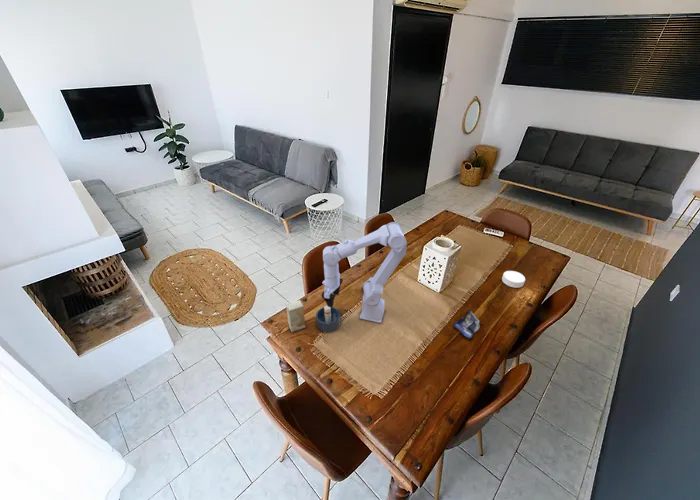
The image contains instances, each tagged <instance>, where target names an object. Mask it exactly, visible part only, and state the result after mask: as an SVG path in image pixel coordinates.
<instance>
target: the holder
mask: <svg viewBox="0 0 700 500" xmlns="http://www.w3.org/2000/svg"><path fill="white" fill-rule="evenodd" d="M324 307H325V306H323V307H321V308H319V309H318V310H316V313H315V323H316V327H317V328H318V330H320V331H322V332H323V333H332V332H335V331H337V330H338V329H339V328H340V325H341V313H340V311H339V309H338V308H337V307H334V306H333V307H330V308H331V322H330V323H325V313H324Z"/></svg>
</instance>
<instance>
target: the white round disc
mask: <svg viewBox="0 0 700 500" xmlns="http://www.w3.org/2000/svg"><path fill="white" fill-rule="evenodd" d="M501 281H502V283H503V284H504V285H505V286H507V287H510V288H512V289H513V288H514V289H519V288H522V287H523V286H524V285H525V282H526V277H525V276H524V275H523V274H522V273H521V272H518V271H515V270H506V271H504V272H503V273H502V277H501Z"/></svg>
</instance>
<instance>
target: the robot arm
mask: <svg viewBox="0 0 700 500" xmlns="http://www.w3.org/2000/svg"><path fill="white" fill-rule="evenodd" d="M375 244H380V245H382V246H384V247H387V246H389V247H390V251H389V252H388V254H387V255H386V257H385V258H384V260H383V261H382V263H381V265H380V266H379V268H378V269H377V271H376V272H375V274H373V275H374V276H373V277H372V276H371V277H369V278H368V279H367V280H366V281H365V282H363V284H362V289H363V296H362V306H361V307H362V309H361V313H360V314H359V319H360V320H366V321H369V322H375V323H379V324H381V323H382V321H383V317H384V315H385V304H386V300H385V299H383V298H381V297H382V295H383V291H384V286H385V285H386V283H387V281H388V280H389V278H390V277H391V276H392V275H393V273H394V271H395V270H396V269H397V267H398V266H399V264H400V262H401V261H402V260H403V258H404V257H405V256H406V254H407V245H408V241H407V239H406V236H405V235H404V232H403V230H402V227H401V225H400V224H399V223H397V222H395V221H391V222H389V223H387V224H383V225H382V226H380V227H379V228H378V229H377V230H375V231H372V232H370V233H368V234H366V235H364V236H362V237H360V238H358V239H356V240H353V239H348V240H347V239H344V240H343V242H340V243H338V244H333V245H327V246H325V247H324V248H323V250H322V261H323V274H324V280H323V281H322V285H324V291H322V292H321V298H322V299H323V300H324V301H325V304H326V306H328V307H334V303H335V298H336V297H337V296H339V295H340V291H341V290H340V289H341V286H342V284H343V282H344V279H343V278H341V273H340V269H339V267H340V265H339V262H341V260H343V259H346V258H348V257H350V256H353V255H355V254H357V252H358V250H360V249H363V248H367V247H369V246H373V245H375Z"/></svg>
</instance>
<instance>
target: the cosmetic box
mask: <svg viewBox="0 0 700 500" xmlns="http://www.w3.org/2000/svg"><path fill="white" fill-rule="evenodd" d="M285 309H286V316H287V323H288V327H289V330H290V331H291V333H294V332H296V331H299V330H302V329H305V328H306V321H305V319H306V318H305V310H304V309H305V308H304V304H303V302H302V300H301V299H298V300H295V301H292V302H288V303H286V304H285Z"/></svg>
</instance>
